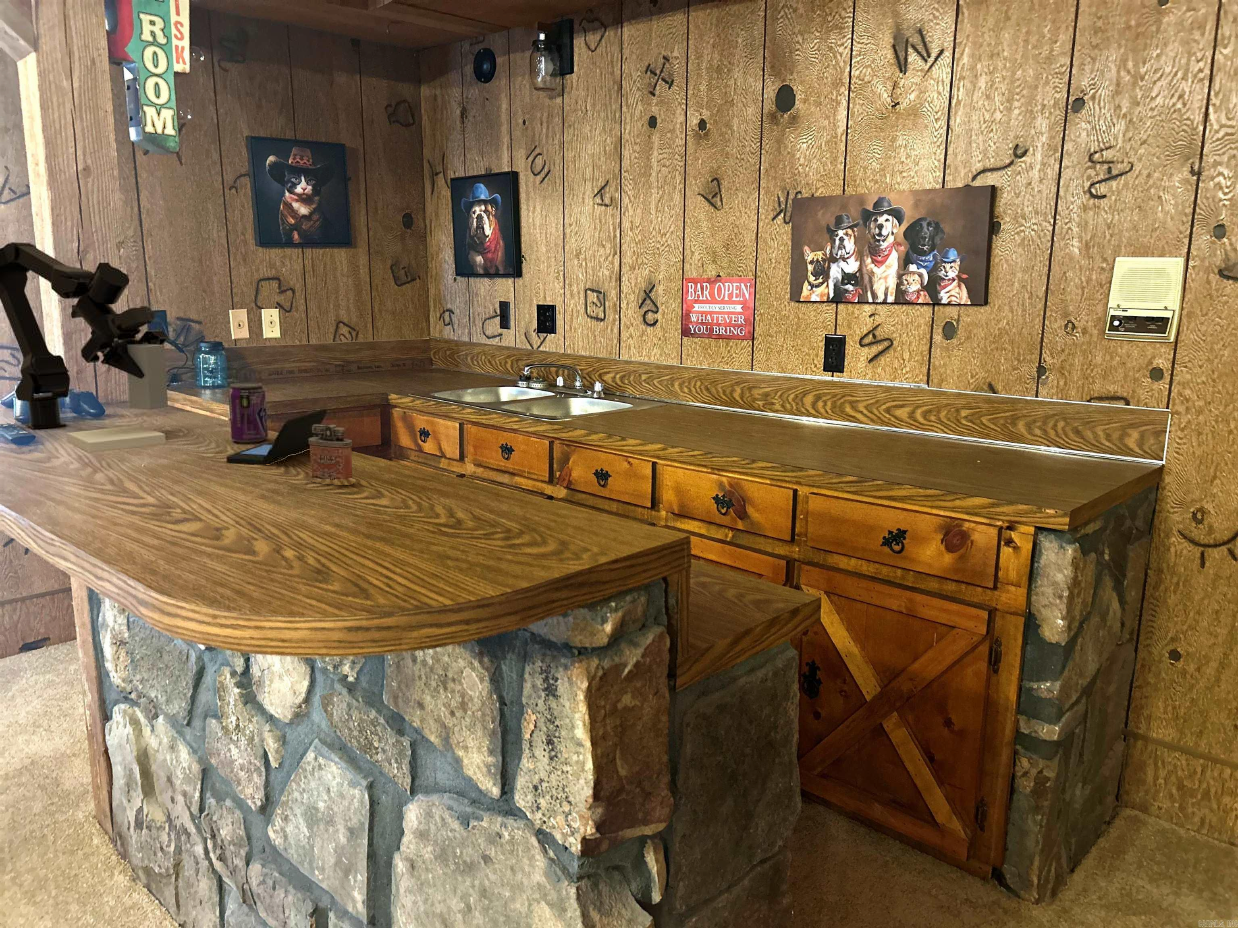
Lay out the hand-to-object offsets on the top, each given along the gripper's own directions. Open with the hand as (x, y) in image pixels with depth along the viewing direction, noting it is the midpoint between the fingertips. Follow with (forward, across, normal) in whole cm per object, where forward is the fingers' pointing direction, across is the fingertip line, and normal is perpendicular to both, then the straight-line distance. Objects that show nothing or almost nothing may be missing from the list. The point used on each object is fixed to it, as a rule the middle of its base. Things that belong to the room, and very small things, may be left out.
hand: (152, 375), depth 185 cm
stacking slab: (+7, -6, +13) cm, 16 cm away
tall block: (+4, 0, +6) cm, 7 cm away
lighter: (+48, -23, -30) cm, 61 cm away
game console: (+34, -7, -15) cm, 37 cm away
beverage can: (+23, +4, -4) cm, 24 cm away
